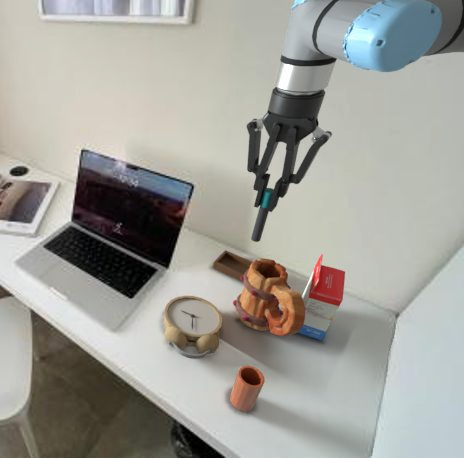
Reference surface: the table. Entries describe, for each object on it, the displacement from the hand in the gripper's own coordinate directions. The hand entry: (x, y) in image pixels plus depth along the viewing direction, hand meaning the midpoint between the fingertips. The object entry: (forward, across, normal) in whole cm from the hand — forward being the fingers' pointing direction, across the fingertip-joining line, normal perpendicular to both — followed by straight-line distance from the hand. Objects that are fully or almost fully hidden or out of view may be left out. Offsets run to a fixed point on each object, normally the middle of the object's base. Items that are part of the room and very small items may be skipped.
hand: (265, 206), depth 73 cm
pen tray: (+20, 0, 0) cm, 20 cm away
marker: (+9, 0, 0) cm, 9 cm away
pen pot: (+20, -12, +30) cm, 38 cm away
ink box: (+20, -15, +5) cm, 25 cm away
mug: (+20, -8, +13) cm, 25 cm away
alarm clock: (+20, +2, +23) cm, 30 cm away
